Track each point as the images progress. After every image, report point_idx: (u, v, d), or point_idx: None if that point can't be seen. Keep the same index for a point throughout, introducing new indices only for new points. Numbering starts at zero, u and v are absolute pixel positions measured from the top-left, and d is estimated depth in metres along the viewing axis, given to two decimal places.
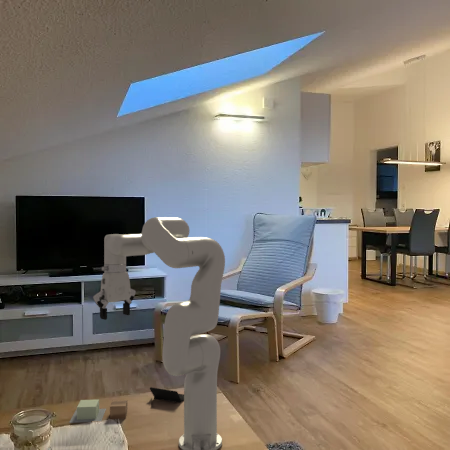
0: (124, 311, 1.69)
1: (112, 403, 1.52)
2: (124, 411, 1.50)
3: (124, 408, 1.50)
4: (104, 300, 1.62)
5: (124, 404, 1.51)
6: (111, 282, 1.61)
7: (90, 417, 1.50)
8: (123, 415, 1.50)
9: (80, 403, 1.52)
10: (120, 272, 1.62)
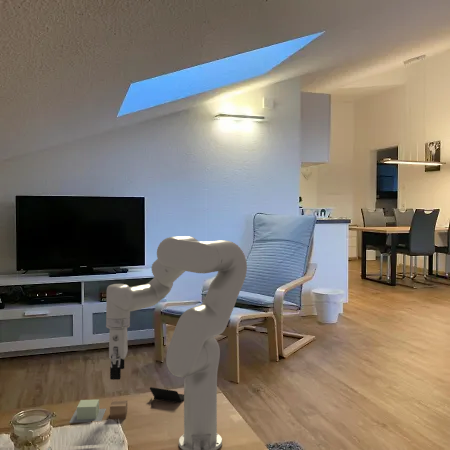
0: None
1: (112, 403, 1.52)
2: (124, 411, 1.50)
3: (124, 408, 1.50)
4: (116, 358, 1.48)
5: (124, 404, 1.51)
6: (124, 337, 1.49)
7: (90, 417, 1.50)
8: (123, 415, 1.50)
9: (80, 403, 1.52)
10: (129, 325, 1.52)
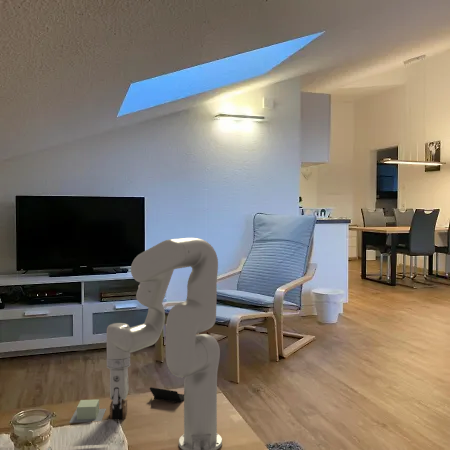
0: None
1: (112, 403, 1.52)
2: (124, 410, 1.50)
3: (124, 408, 1.50)
4: (117, 400, 1.49)
5: (124, 404, 1.51)
6: (125, 377, 1.49)
7: (90, 417, 1.50)
8: (123, 415, 1.50)
9: (80, 403, 1.52)
10: (129, 364, 1.52)
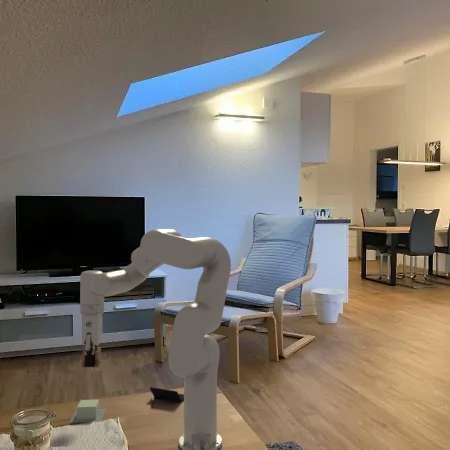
0: None
1: None
2: (96, 357, 1.50)
3: (97, 354, 1.50)
4: (90, 346, 1.49)
5: (97, 350, 1.51)
6: (98, 323, 1.49)
7: (90, 417, 1.50)
8: (96, 361, 1.50)
9: (80, 403, 1.52)
10: (103, 311, 1.52)
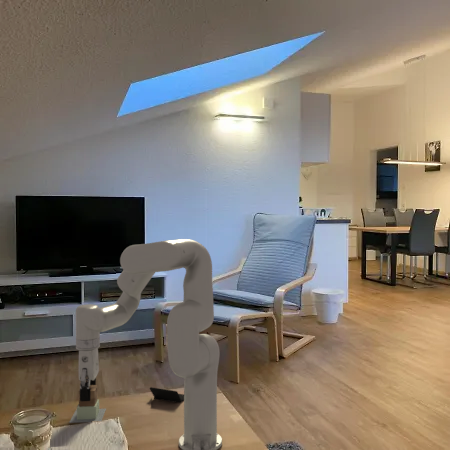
0: None
1: None
2: (93, 396, 1.50)
3: (93, 393, 1.50)
4: (86, 380, 1.48)
5: (93, 389, 1.51)
6: (94, 358, 1.49)
7: (90, 417, 1.50)
8: (92, 400, 1.50)
9: None
10: (99, 345, 1.52)
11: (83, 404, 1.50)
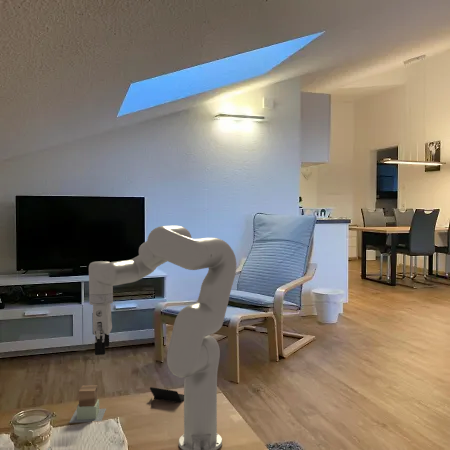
0: None
1: (81, 388, 1.52)
2: (93, 396, 1.50)
3: (93, 393, 1.50)
4: (100, 334, 1.49)
5: (93, 389, 1.51)
6: (108, 312, 1.51)
7: (90, 417, 1.50)
8: (92, 400, 1.50)
9: None
10: (112, 301, 1.54)
11: (83, 404, 1.50)
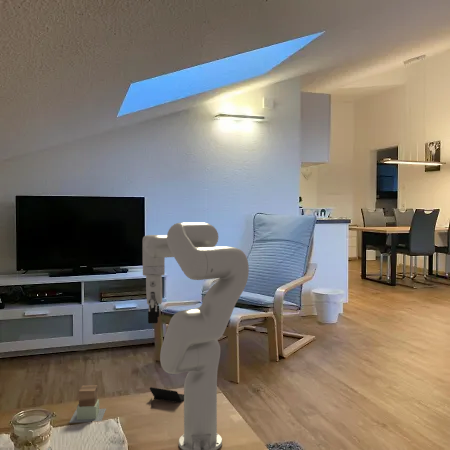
0: None
1: (81, 388, 1.52)
2: (93, 396, 1.50)
3: (93, 393, 1.50)
4: (153, 303, 1.56)
5: (93, 389, 1.51)
6: (160, 283, 1.58)
7: (90, 417, 1.50)
8: (92, 400, 1.50)
9: None
10: (164, 273, 1.61)
11: (83, 404, 1.50)
